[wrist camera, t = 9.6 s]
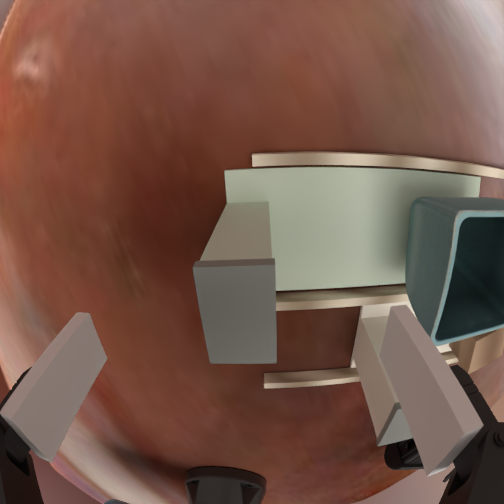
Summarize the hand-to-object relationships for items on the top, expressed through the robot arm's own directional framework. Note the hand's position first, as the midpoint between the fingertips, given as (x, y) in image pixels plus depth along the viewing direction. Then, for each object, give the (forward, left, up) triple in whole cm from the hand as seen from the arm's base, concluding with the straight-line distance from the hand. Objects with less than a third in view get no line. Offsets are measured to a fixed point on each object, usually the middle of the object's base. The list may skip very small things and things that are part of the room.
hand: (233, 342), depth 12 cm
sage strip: (+10, 0, -12) cm, 15 cm away
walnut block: (+24, -10, -12) cm, 28 cm away
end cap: (+25, -35, -12) cm, 44 cm away
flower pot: (+15, 0, -12) cm, 19 cm away
